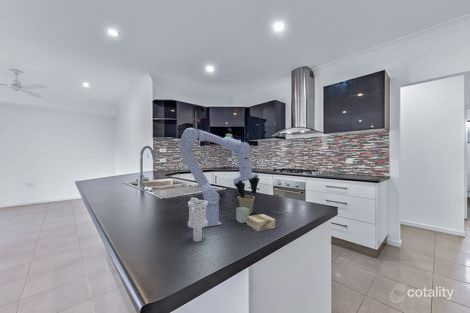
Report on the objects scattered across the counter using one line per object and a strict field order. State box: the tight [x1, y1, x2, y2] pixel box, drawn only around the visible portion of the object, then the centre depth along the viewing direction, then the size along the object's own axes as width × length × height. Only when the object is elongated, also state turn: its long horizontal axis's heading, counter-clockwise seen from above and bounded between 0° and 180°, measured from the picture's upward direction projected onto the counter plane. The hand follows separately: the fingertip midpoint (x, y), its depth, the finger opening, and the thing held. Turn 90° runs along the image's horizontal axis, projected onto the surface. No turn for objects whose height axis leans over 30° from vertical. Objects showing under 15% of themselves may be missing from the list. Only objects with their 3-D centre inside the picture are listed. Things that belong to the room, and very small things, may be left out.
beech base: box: [246, 213, 276, 232], centre depth 88 cm, size 9×9×4 cm
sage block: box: [235, 206, 250, 224], centre depth 95 cm, size 4×4×6 cm
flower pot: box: [237, 194, 256, 215], centre depth 108 cm, size 9×9×9 cm
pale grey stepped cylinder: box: [187, 197, 208, 242], centre depth 73 cm, size 7×7×15 cm
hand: (248, 195), depth 96 cm, fingers open, 7 cm apart
